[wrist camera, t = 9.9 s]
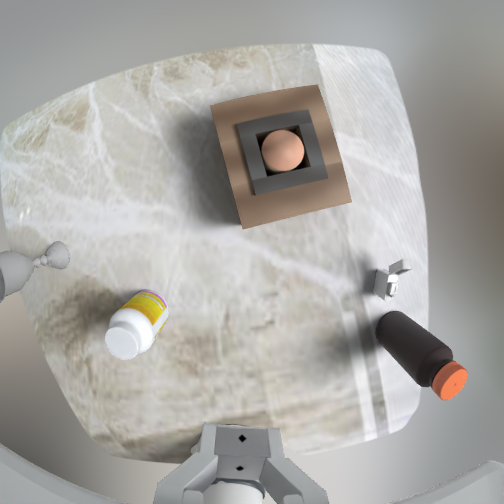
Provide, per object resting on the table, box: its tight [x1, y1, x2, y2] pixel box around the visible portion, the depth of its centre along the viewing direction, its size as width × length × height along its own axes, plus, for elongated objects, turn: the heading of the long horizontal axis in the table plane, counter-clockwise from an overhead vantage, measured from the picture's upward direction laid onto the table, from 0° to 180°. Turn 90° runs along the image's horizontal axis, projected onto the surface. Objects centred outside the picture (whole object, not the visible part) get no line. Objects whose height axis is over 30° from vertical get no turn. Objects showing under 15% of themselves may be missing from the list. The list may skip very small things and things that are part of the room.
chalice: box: [0, 241, 70, 303], centre depth 32 cm, size 7×7×18 cm
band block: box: [210, 85, 352, 229], centre depth 36 cm, size 16×14×9 cm
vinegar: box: [376, 311, 467, 400], centre depth 35 cm, size 7×7×20 cm
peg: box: [260, 130, 304, 176], centre depth 36 cm, size 5×5×8 cm
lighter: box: [373, 259, 412, 301], centre depth 39 cm, size 7×2×8 cm, turn 175°
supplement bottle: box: [105, 290, 169, 360], centre depth 37 cm, size 7×7×13 cm
